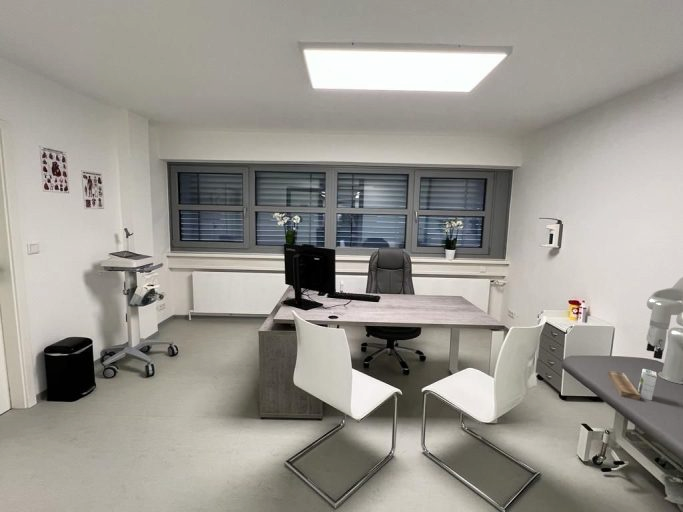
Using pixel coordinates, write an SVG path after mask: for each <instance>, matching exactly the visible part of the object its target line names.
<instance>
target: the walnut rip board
mask: <svg viewBox="0 0 683 512" xmlns="http://www.w3.org/2000/svg"><path fill="white" fill-rule="evenodd" d="M607 376H608V378H609V377H610V378H609V379H610V381H611V383H612V382H613V383H612V384H613V386H614V387H615V389H616V390H617V392H618V394H619V396H620V397H623V398H627V399H632V400H637V401H638V402H640V401H641V399H642V398H641V395H640V393H639V392H638V388H636V386H635V385H634V384H633V382H632V380H630V378H629V377H628V375H627V374H626V373H624V372H619V371H613V370H608V372H607Z"/></svg>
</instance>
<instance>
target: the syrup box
mask: <svg viewBox="0 0 683 512" xmlns="http://www.w3.org/2000/svg"><path fill="white" fill-rule="evenodd" d="M657 378H658V373H657V372H656V371H653V370H651V369H646V368H642V370H641V375H640V379H639V382H638V383H639V384H638V388H637V391H638V392H639V393H640V395H641V398H640V399H643V400H644V399H646V400H648V401H653V396H654V392H655V386H656V382H657Z"/></svg>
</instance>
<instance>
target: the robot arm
mask: <svg viewBox="0 0 683 512" xmlns="http://www.w3.org/2000/svg"><path fill="white" fill-rule="evenodd" d="M646 306H647V308H648V309H650V310H651V313H650V320H649V327H648V329H647V335H646V341H647V345H646V351H647V352H653V359H658V360H662V358H663V354H664V350H665V347H666V346H665V345H666V342H667V347H666V353H665V356H664V357H665V358H664V362H663V366H662V371H659V372H658V373H657V376H658V377H659V378H661V379H663V380H666V381H668V382H671V383H674V384H679V385H683V328H682V327H683V277H681V278H679V279H678V280H677V282H676V283H675V284H674V285H673V286H671V287H669V288H663V289H659V290H657V291H654V292H653V293H652V294H651V295H650V296H649V297H648V299H647V302H646ZM672 316H676V318H675V319H676V320H675V321H676V323H677V325H679V326H681V327H676V326H675V327H671V328H670V323H671V319H672Z"/></svg>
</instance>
